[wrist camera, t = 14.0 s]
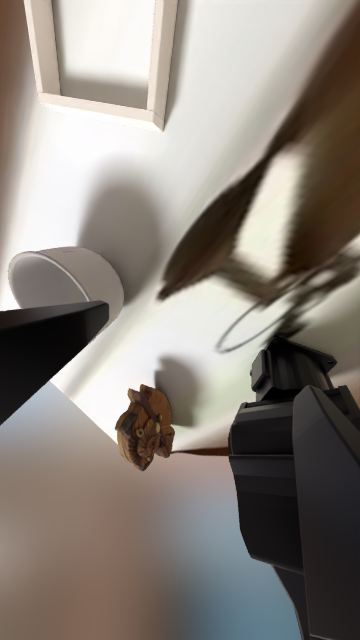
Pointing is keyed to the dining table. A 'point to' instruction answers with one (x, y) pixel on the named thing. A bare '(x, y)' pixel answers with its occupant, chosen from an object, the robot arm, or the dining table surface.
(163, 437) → the wooden carving
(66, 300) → the teacup
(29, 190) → the dining table surface
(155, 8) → the tray
